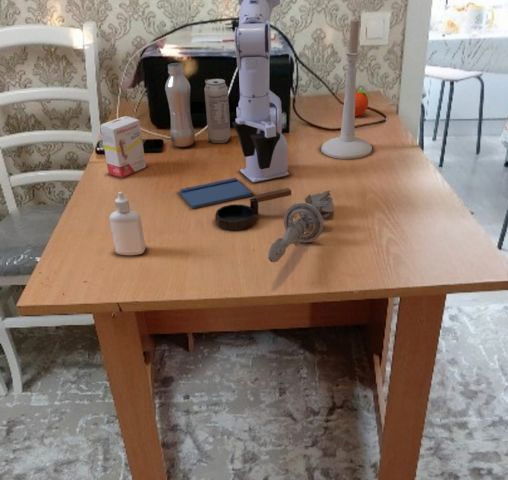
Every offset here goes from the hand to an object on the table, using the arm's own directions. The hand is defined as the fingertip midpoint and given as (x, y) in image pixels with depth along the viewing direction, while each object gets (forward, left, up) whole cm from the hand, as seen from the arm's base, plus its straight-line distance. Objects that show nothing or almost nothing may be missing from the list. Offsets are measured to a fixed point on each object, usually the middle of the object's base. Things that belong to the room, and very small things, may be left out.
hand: (256, 161), depth 123 cm
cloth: (+7, -9, -9) cm, 14 cm away
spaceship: (0, +20, -10) cm, 22 cm away
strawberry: (-50, -40, -10) cm, 65 cm away
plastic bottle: (+3, -42, -10) cm, 43 cm away
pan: (+3, +6, -9) cm, 11 cm away
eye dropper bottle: (+31, +8, -10) cm, 33 cm away
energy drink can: (-7, -41, -10) cm, 43 cm away
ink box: (+21, -32, -10) cm, 39 cm away
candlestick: (-33, -18, -10) cm, 39 cm away
